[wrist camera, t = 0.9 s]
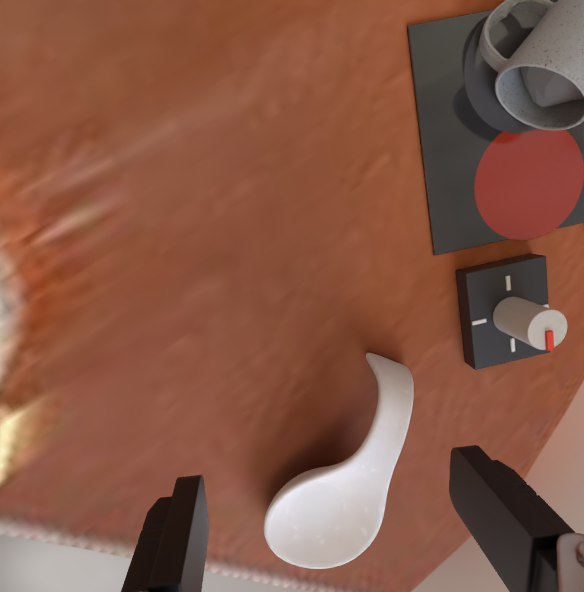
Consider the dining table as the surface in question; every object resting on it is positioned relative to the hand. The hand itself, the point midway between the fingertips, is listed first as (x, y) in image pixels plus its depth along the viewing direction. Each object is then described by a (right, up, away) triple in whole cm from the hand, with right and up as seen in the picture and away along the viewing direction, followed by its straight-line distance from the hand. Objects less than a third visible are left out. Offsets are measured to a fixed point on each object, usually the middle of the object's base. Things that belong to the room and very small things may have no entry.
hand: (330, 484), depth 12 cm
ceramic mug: (+19, +26, +23) cm, 40 cm away
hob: (+20, +22, +24) cm, 38 cm away
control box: (+20, +5, +28) cm, 34 cm away
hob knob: (+20, +4, +26) cm, 33 cm away
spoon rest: (+4, -11, +30) cm, 32 cm away
